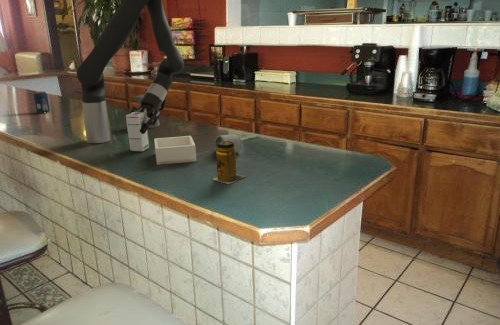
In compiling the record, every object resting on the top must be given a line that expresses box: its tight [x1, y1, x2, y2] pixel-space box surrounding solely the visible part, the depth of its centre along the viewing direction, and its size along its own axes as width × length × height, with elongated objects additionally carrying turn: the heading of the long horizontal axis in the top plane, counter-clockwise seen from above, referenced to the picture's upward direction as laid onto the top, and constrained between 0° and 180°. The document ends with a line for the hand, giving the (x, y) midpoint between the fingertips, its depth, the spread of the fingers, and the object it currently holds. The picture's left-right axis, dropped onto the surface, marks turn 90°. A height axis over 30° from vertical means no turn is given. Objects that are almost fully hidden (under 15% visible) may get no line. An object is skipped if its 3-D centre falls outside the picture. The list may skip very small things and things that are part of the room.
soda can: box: [33, 91, 51, 114], centre depth 229 cm, size 7×7×12 cm
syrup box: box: [125, 112, 150, 152], centre depth 155 cm, size 6×6×14 cm
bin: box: [154, 135, 197, 166], centre depth 147 cm, size 14×14×6 cm
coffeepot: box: [133, 89, 167, 129], centre depth 194 cm, size 15×9×18 cm, turn 113°
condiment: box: [212, 141, 247, 185], centre depth 125 cm, size 7×8×12 cm
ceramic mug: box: [214, 134, 242, 154], centre depth 152 cm, size 11×8×8 cm
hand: (134, 131), depth 154 cm, fingers closed on syrup box, 7 cm apart
